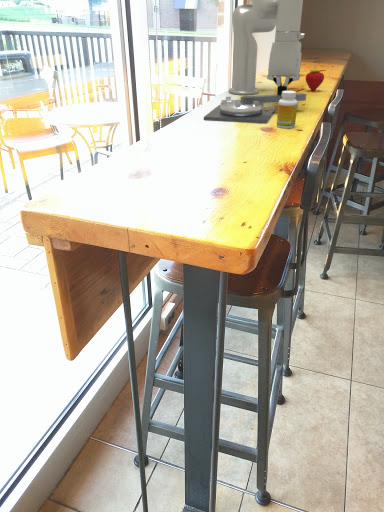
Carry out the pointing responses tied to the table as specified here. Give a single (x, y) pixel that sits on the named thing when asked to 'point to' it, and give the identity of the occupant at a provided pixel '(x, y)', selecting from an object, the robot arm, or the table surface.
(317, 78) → the strawberry
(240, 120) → the plate
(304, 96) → the grey disc with handle
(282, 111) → the supplement bottle
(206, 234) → the table surface
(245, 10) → the robot arm
